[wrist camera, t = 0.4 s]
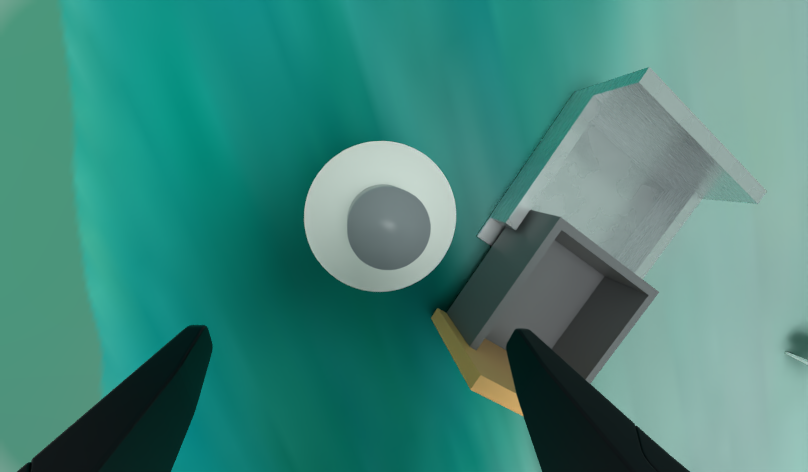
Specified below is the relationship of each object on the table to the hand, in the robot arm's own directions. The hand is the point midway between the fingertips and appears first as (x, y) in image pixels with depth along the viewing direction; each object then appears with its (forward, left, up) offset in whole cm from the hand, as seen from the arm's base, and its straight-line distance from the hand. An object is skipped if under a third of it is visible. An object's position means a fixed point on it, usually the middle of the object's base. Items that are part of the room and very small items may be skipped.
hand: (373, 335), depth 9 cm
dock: (+14, -12, -15) cm, 24 cm away
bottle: (+2, +1, -15) cm, 15 cm away
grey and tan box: (+6, -14, -15) cm, 21 cm away
